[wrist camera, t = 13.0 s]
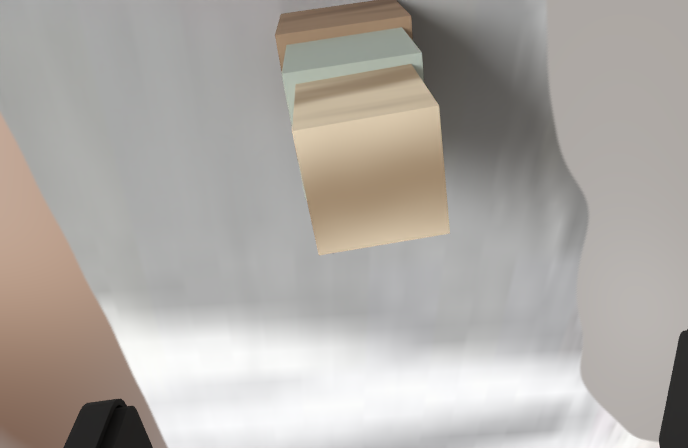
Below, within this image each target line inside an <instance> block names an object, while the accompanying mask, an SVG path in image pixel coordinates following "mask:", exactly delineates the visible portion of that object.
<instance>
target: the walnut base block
mask: <svg viewBox="0 0 688 448" xmlns="http://www.w3.org/2000/svg"><path fill="white" fill-rule="evenodd" d="M400 27H402V28H403V29H404V31H405V32H406V33H407V34H408V36H409V37H410V38H411V39H412V41H413V37H412V23H411V15H410V14H409V13H408V12H407V11H406V10H405V9H404V8H403V7H402V6H401V5H400V4H399V3H398V2H397V1H396V0H374V1H367V2H360V3H353V4H346V5H339V6H333V7H326V8H319V9H312V10H305V11H298V12H291V13H284V14H281V16H280V19H279V23H278V26H277V30H276V34H275V38H276V43H277V49H278V54H279V60H280V65H281V71H282V68H283V62H284V56H285V51H286V45H290V44H296V43H303V42H309V41H316V40H322V39H329V38H335V37H342V36H348V35H355V34H361V33H368V32H374V31H381V30H387V29H394V28H400ZM295 148H296V147H295ZM296 154H297V152H296ZM297 159H298V158H297Z"/></svg>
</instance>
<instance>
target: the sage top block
mask: <svg viewBox="0 0 688 448" xmlns="http://www.w3.org/2000/svg"><path fill="white" fill-rule="evenodd" d="M407 64H412V66H413V67H414V69H415V70H416V72H417V73H418V75H419V76H420V78H421V79H422V81H423V82H424V76H423V62H422V52H421V51H420V49H419V48H418V47H417V46H416V44H415V43H414V42H413V41H412V39H411V38H410V37H409V36H408V34H407V33H406V32H405V31H404V29H403V28H402V27H400V28H394V29H387V30H381V31H374V32H368V33H361V34H355V35H348V36H342V37H335V38H329V39H322V40H316V41H309V42H303V43H296V44H290V45H286V51H285V56H284V62H283V68H282V79H283V84H284V89H285V95H286V100H287V105H288V110H289V116H290V121H291V126H292V124H293V111H294V98H295V85H296V84H299V83H305V82H311V81H316V80H322V79H328V78H333V77H339V76H345V75H350V74H356V73H362V72H367V71H373V70H379V69H384V68H390V67H395V66H401V65H407ZM297 158H298V157H297ZM298 163H299V161H298ZM299 168H300V166H299ZM300 173H301V170H300ZM301 179H302V175H301ZM302 184H303V180H302ZM303 189H304V184H303ZM304 194H305V189H304ZM305 199H307V198H306V194H305Z"/></svg>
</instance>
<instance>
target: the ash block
mask: <svg viewBox="0 0 688 448" xmlns="http://www.w3.org/2000/svg"><path fill="white" fill-rule="evenodd" d="M292 134H293V138H294V143H295V147H296V152H297V157H298V161H299V166H300V170H301V175H302V180H303V184H304V189H305V194H306V198H307V203H308V207H309V212H310V217H311V221H312V226H313V230H314V235H315V240H316V244H317V249H318V253H319V255H324V254H330V253H336V252H342V251H348V250H354V249H360V248H366V247H372V246H378V245H384V244H390V243H396V242H402V241H408V240H414V239H419V238H425V237H431V236H437V235H443V234H449V233H450V229H449V217H448V206H447V194H446V182H445V170H444V159H443V147H442V135H441V124H440V112H439V105H438V103H437V102H436V100H435V99H434V97H433V96H432V94H431V93H430V91H429V90H428V88H427V87H426V85H425V84H424V82H423V81H422V79H421V78H420V76H419V75H418V73H417V72H416V70H415V69H414V67H413V66H412V64H407V65H401V66H395V67H390V68H384V69H379V70H373V71H367V72H362V73H356V74H350V75H345V76H339V77H333V78H328V79H322V80H316V81H311V82H305V83H299V84H296V85H295V98H294V111H293V124H292Z"/></svg>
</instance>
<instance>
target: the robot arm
mask: <svg viewBox="0 0 688 448" xmlns="http://www.w3.org/2000/svg"><path fill="white" fill-rule="evenodd" d="M659 445H660V448H688V329H687V331H683V332H682V333H681V334H680V337H679V341H678V347H677V351H676V357H675V361H674V366H673V371H672V376H671V381H670V386H669V391H668V396H667V401H666V406H665V411H664V416H663V421H662V426H661V431H660V436H659ZM64 448H153V447H152V445H151V442H150V440H149V438H148V435H147V433H146V431H145V428H144V426H143V424H142V421H141V419H140V417H139V414H138V412H137V410H136V408H135V407H134V406H127V405H126V404H125V402H124V401H123V400H122V399H113V400H106V401H99V402H91V403H87V404H85V405H84V406H83V407H82V409H81V410H80V412H79V414H78V417H77V419H76V421H75V423H74V426H73V428H72V430H71V432H70V435H69V437H68V439H67V441H66V443H65V446H64Z"/></svg>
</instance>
